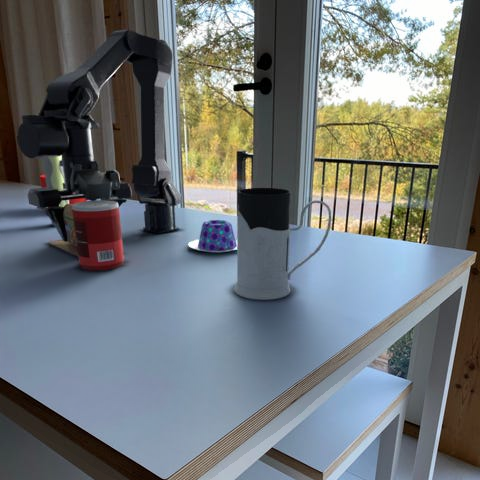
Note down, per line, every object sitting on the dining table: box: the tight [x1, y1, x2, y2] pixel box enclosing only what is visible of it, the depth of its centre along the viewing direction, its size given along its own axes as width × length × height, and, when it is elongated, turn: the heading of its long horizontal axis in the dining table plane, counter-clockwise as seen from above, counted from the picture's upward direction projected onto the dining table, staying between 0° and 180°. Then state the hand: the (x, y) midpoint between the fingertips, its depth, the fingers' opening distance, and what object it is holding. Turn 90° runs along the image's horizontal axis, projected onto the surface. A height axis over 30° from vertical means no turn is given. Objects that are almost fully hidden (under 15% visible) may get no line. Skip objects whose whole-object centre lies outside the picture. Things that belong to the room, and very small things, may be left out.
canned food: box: [72, 199, 125, 271], centre depth 84 cm, size 8×8×11 cm
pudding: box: [188, 219, 237, 253], centre depth 97 cm, size 12×12×5 cm
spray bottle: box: [42, 156, 69, 226], centre depth 115 cm, size 5×5×20 cm
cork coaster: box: [47, 239, 79, 258], centre depth 97 cm, size 7×18×1 cm, turn 43°
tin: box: [63, 204, 77, 247], centre depth 96 cm, size 15×3×8 cm, turn 40°
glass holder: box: [233, 187, 332, 301], centre depth 71 cm, size 9×14×15 cm, turn 88°
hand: (87, 237), depth 94 cm, fingers open, 9 cm apart
